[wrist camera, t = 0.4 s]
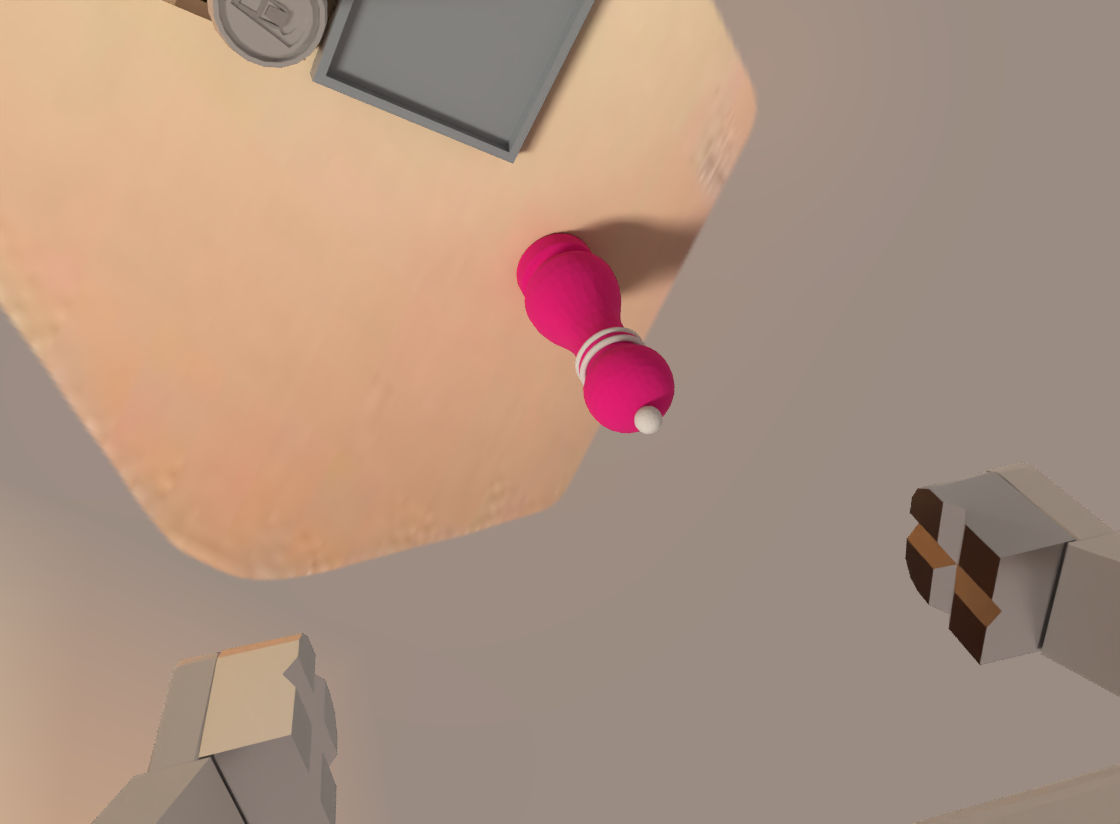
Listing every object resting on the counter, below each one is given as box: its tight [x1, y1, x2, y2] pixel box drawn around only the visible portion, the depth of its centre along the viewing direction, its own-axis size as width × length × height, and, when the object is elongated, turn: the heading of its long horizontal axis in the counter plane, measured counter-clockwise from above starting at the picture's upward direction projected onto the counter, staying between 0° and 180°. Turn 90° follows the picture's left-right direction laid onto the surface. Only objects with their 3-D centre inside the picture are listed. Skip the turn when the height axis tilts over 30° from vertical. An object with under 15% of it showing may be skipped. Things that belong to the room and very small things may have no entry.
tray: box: [310, 0, 595, 163], centre depth 52 cm, size 14×14×2 cm
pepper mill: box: [517, 234, 674, 434], centre depth 60 cm, size 7×7×20 cm
